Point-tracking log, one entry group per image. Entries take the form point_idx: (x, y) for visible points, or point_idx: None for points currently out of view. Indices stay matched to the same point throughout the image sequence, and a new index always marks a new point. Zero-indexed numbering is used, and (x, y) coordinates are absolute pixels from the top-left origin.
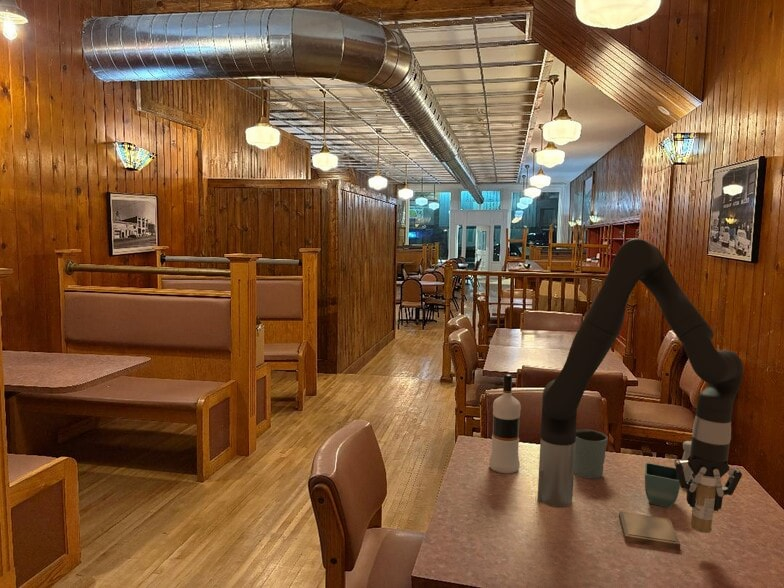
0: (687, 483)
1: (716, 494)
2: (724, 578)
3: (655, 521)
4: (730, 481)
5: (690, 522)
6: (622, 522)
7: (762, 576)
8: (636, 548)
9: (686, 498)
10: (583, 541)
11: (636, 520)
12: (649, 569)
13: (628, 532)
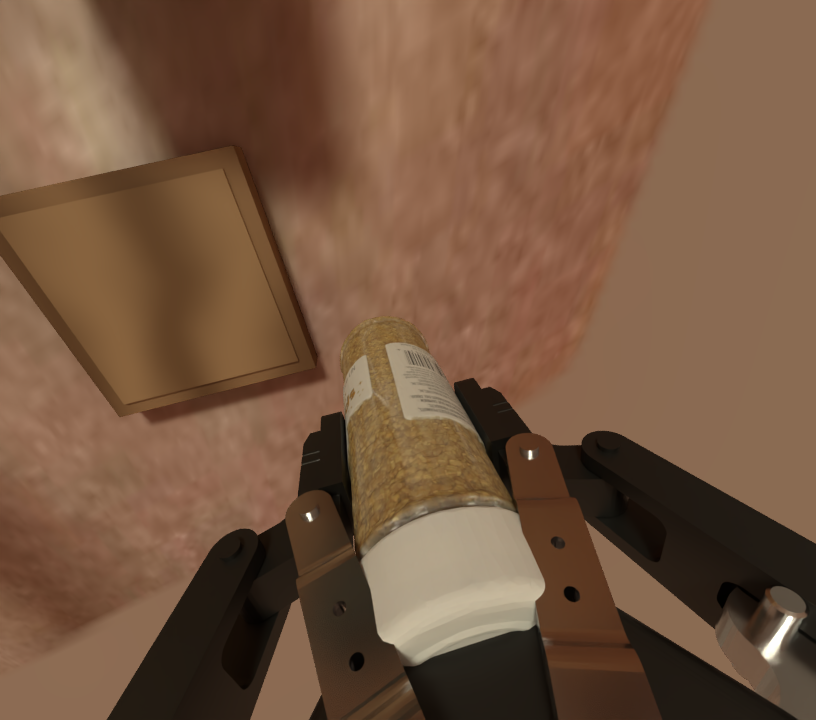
0: (290, 592)
1: (501, 477)
2: None
3: (179, 230)
4: (678, 570)
5: (341, 358)
6: (50, 319)
7: (538, 371)
8: (185, 420)
9: (304, 450)
10: (10, 473)
11: (96, 269)
12: (255, 494)
13: (118, 394)
